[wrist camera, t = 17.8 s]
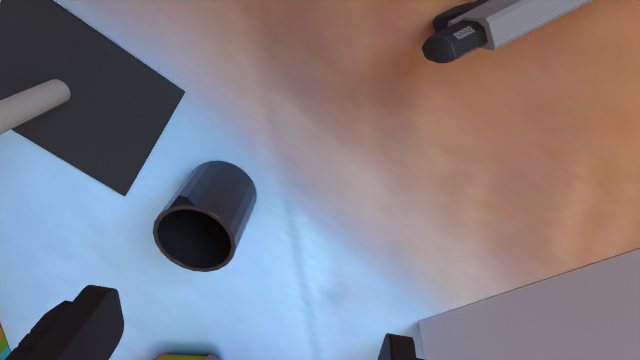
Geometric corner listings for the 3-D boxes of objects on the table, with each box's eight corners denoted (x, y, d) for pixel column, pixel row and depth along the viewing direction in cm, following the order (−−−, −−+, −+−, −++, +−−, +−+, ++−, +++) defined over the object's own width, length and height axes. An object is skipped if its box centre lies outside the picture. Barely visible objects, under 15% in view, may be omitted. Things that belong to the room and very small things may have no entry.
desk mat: (-25, 105, 47) (-28, 106, 47) (11, -29, 39) (8, -29, 39) (126, 194, 52) (124, 196, 52) (185, 91, 44) (183, 92, 44)
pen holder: (176, 195, 51) (139, 243, 43) (208, 147, 47) (175, 190, 39) (234, 231, 54) (210, 283, 45) (269, 188, 50) (250, 237, 41)
